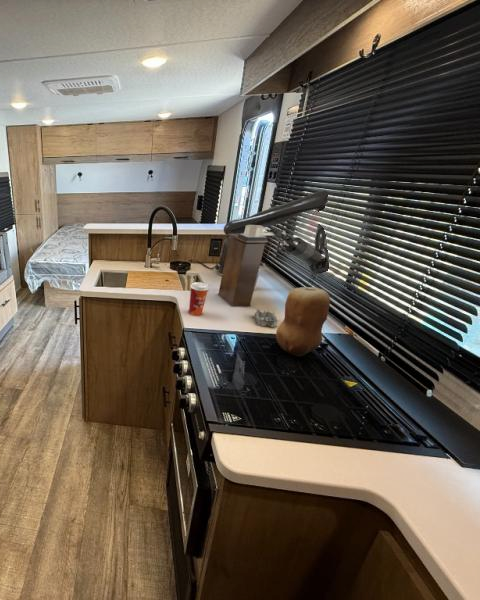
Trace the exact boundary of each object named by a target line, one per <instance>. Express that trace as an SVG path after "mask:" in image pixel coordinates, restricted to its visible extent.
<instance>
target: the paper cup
mask: <svg viewBox="0 0 480 600" xmlns="http://www.w3.org/2000/svg"><path fill="white" fill-rule="evenodd" d="M209 289H210V288H209V284H207V283H205V282H201V281H195V282H192V283H191V285H190V294H189V306H188V307H189V308H188V314H190V315H192V316H196V317H199V316H202V314H203V311H204V307H205V304H206V299H207V293H208V290H209Z"/></svg>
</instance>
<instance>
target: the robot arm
mask: <svg viewBox="0 0 480 600" xmlns="http://www.w3.org/2000/svg"><path fill="white" fill-rule="evenodd" d="M326 190H327V189H322V190H318V191H316V192H313V193H311V194H308V195H306V196H303V197H301V198H298V199H295V200H292V201H288V202H286V203H282V204H279V205H275V206H273V207H270V208H267V209H264V210H261V211H260V212H257V213H255V214H252V215H250V216H247V217H244V218H240V219H238V218H237V219H233V220H229V221H228V222H227V223H225V225H224V226H223V233H224V234H225V235H226V237H225V240H224V241H223V243H222V248H221V253H220V257H219V262H218V264H217V263H216V264H215V265H214V266H213V267H209V266H208V265H206V264H205V263H203V262H201V261H199V260H197V259H195V260H196V261H195V262H197V263H199V264H201V265H202V266H203V267H205V268H207V269H210V270H216V271H217V275H219V276H222V273H223V268H224V263H225V258H226V253H227V247H228V242H229V237H231V236H229V235H228V234H234V233H244V232H245V227H246V225H259V226H263V227H264V228H268V227H271V228H270V229H269V231H268V232H273V234H274V235H272V237H273V238H274V239H275V240H276V241H277V242H279V243H281V244H282V245H283V246H285V247H284V249H285V252H287V253H289V254H290V255H292V256H293V257H294V258H296V259H298V260H300V261H301V262H303V263H304V264H305V265H306V266H307V267H308V269H309V270H310V272H311V273H313V274H316V275H322V274H324V273H323V272H326V271H328V269H329V256H328V250H327V242H326V234H325V231H324V228H323V227H322V226H321V225H320V224H318V223H317V226H316V230H315V235H314V247H313V246H312V245H311V244H310V243H308V242H307V241H306V240H304V239H302V238H301V237H297V236H295V237H292V236H290V235H289V234H287V233H286V232H285V233H282V232H283V231H280V230H279V229H277V228H274V227H272V226H275V225H279V224H283V223H286V222H287V221H289V220H290V219H292V218H294V217H295V216H297V215H300V214H302V213H306V212H310V211H315V212H316V211H318V212H319V211H321V210H323V209H324V208H325V206H326V205H327V202H328V199H327V197H328V194H327V191H326ZM322 255H323V256H324V257H323V256H322ZM322 257H323V258H322ZM189 262H193V260H192V259H190V260H189ZM321 273H322V274H321Z"/></svg>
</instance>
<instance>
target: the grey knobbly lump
mask: <svg viewBox="0 0 480 600" xmlns="http://www.w3.org/2000/svg"><path fill="white" fill-rule="evenodd" d="M255 311H256V312H254V315H253V316H254V318H255V321H256V322H257V325H258V326H261V327H270V328H274V327H277V323H278V322H279V319H278V316H276V313H275V312H274V311H273V312H272V311H265V310H263V311H261V309H260V308H259V309H258V308H257V307H256V308H255Z"/></svg>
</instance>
